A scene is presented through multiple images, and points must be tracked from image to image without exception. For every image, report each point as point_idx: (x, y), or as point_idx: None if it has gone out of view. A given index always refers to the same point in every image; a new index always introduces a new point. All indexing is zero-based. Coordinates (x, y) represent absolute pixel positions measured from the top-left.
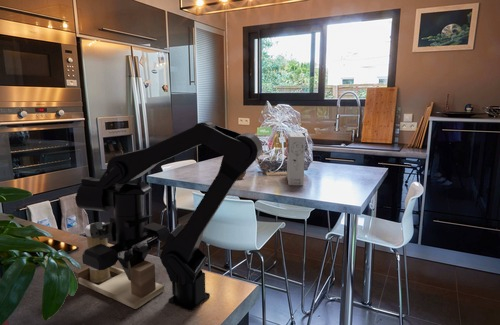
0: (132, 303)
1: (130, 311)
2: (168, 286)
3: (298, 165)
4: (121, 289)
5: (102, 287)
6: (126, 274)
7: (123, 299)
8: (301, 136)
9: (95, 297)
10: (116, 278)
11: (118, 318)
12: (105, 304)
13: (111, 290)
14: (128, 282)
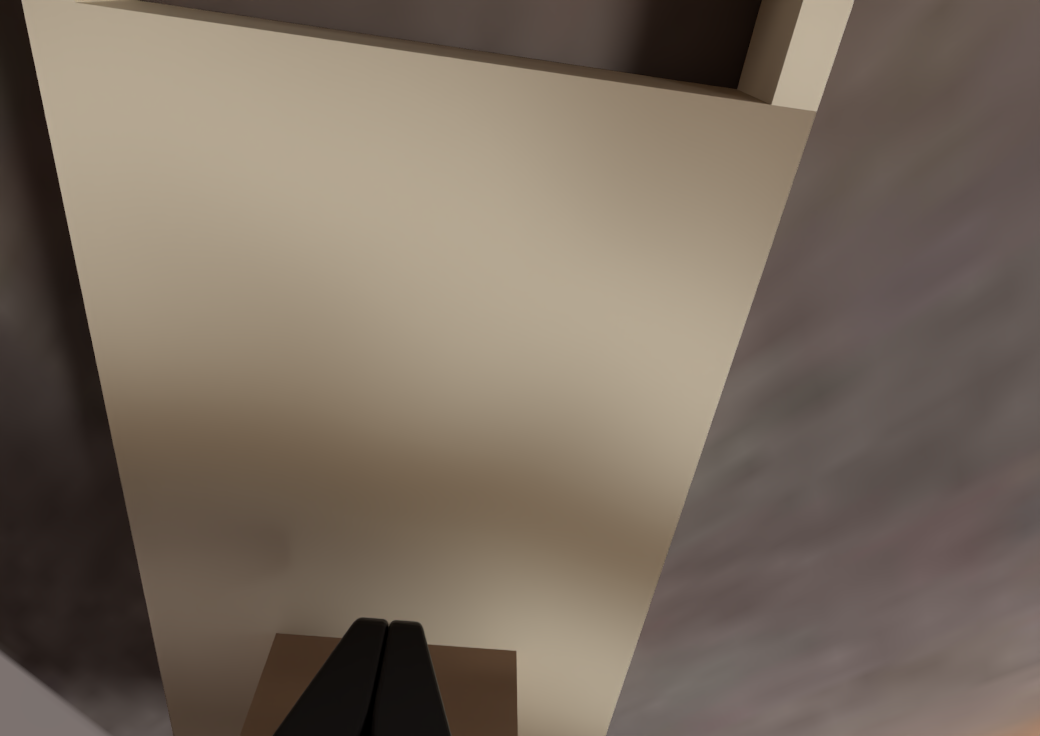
0: (174, 710)
1: None
2: (684, 691)
3: None
4: (269, 481)
5: (96, 165)
6: (285, 726)
7: (153, 611)
8: None
9: (7, 114)
10: (482, 159)
11: (17, 638)
12: (36, 384)
13: (155, 378)
14: (468, 444)
